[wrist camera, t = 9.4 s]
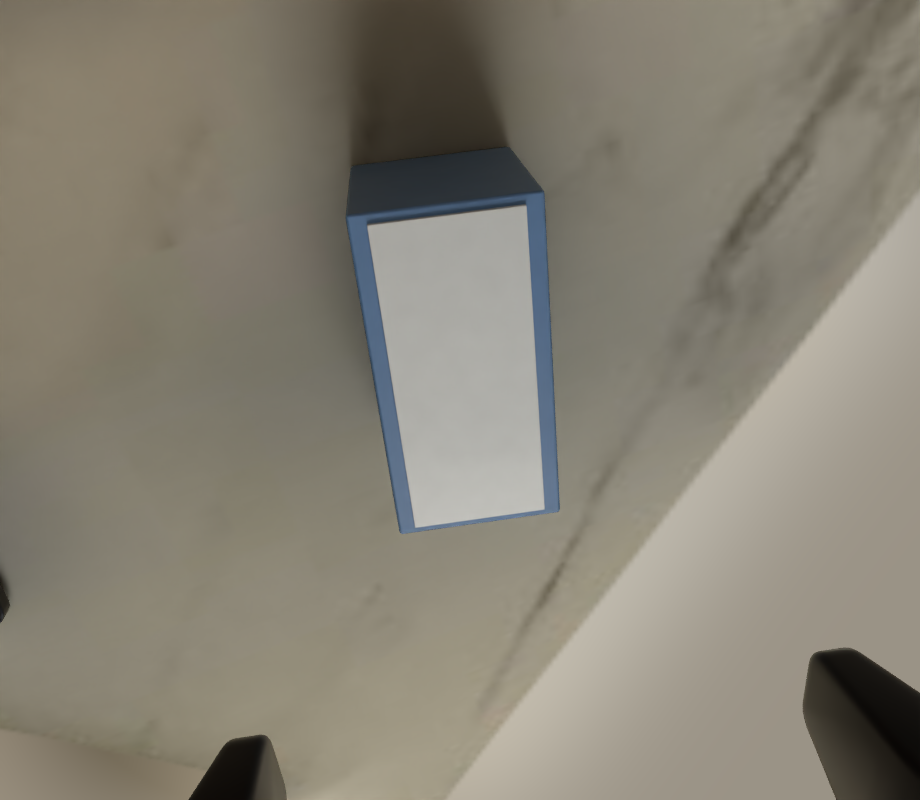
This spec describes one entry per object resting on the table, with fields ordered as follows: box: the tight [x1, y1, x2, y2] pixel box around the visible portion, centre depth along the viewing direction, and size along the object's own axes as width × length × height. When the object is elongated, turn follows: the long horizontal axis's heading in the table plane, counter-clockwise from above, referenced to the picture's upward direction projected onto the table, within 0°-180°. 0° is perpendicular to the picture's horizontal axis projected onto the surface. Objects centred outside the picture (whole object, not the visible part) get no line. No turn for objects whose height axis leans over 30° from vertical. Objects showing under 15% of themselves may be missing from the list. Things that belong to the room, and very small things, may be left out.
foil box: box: [346, 147, 560, 534], centre depth 17 cm, size 7×4×4 cm, turn 6°
